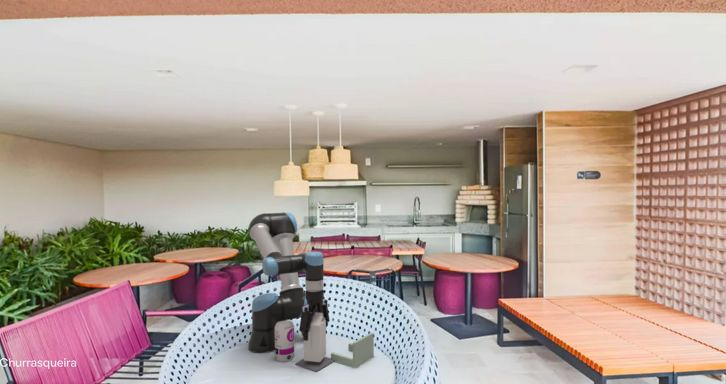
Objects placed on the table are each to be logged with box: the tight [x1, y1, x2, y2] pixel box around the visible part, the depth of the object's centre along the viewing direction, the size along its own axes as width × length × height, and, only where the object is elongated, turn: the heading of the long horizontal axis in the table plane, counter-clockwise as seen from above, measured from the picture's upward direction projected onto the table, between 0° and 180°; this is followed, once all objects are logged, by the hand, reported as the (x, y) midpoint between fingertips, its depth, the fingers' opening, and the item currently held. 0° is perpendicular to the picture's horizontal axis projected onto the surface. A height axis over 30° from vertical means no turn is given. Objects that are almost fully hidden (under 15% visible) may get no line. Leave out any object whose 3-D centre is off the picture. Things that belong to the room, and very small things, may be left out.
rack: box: [330, 332, 375, 369], centre depth 162 cm, size 13×13×10 cm
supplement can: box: [274, 320, 295, 363], centre depth 163 cm, size 8×8×15 cm
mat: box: [294, 356, 336, 373], centre depth 158 cm, size 12×12×1 cm
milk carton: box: [303, 312, 327, 362], centre depth 158 cm, size 7×7×19 cm
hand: (315, 343), depth 158 cm, fingers closed on milk carton, 9 cm apart
